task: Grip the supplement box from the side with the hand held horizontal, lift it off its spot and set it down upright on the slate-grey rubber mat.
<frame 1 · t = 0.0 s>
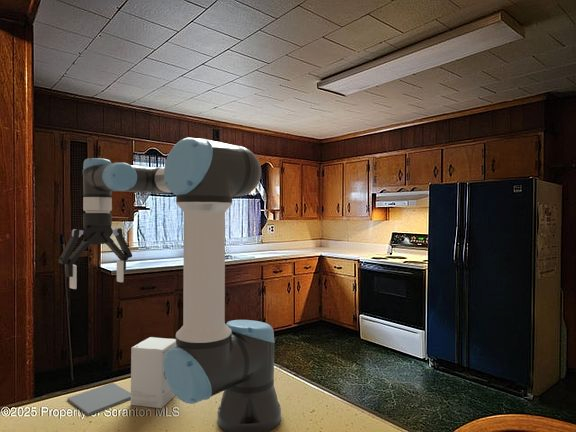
hand: (97, 285, 114), 28 cm above the table, tool pointing down, fingers open, 13 cm apart
supplement box: (155, 399, 103), on the table
mat: (101, 398, 103), on the table
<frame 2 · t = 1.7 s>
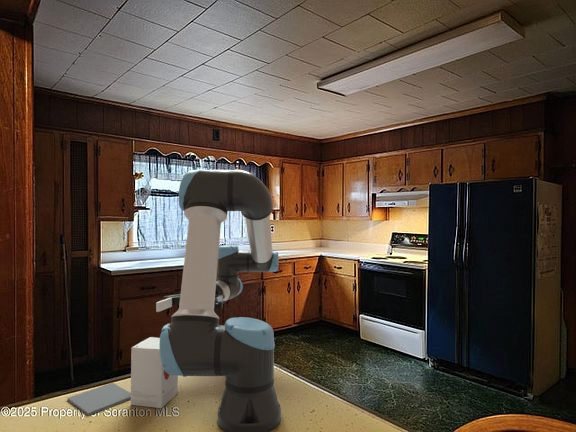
hand: (177, 309, 112), 22 cm above the table, tool horizontal, fingers open, 13 cm apart
nothing on the table moved.
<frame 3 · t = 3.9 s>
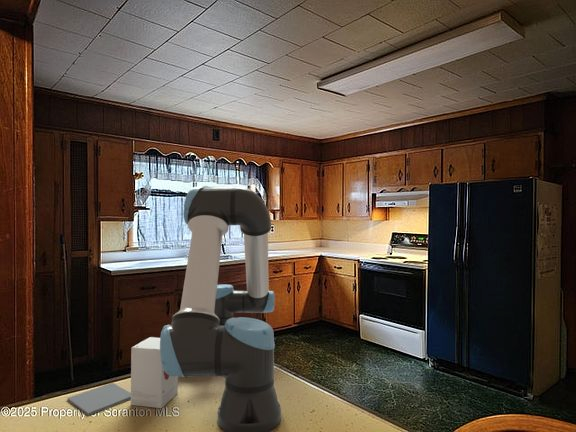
hand: (168, 361, 109), 8 cm above the table, tool horizontal, fingers open, 13 cm apart
nothing on the table moved.
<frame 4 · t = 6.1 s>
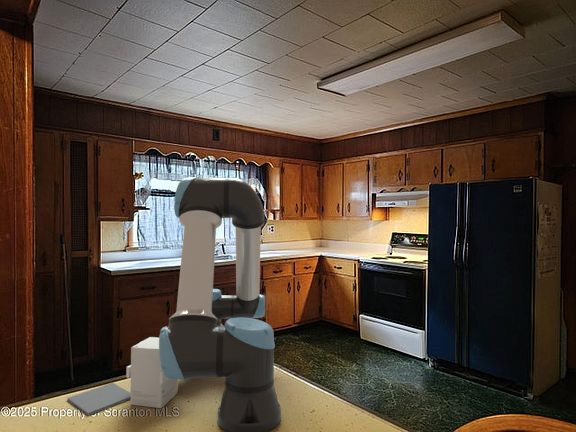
hand: (144, 375, 99), 8 cm above the table, tool horizontal, fingers closed on supplement box, 9 cm apart
supplement box: (155, 399, 103), on the table, touching gripper
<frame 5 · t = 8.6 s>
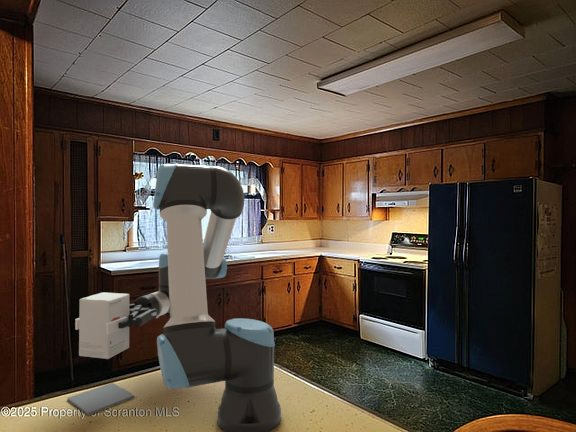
hand: (91, 326, 100), 20 cm above the table, tool horizontal, fingers closed on supplement box, 9 cm apart
supplement box: (105, 352, 104), point 12 cm above the table, touching gripper
when the fingers open (9 cm above the table, at t = 11.2 s): supplement box stays where it is, resting on mat.
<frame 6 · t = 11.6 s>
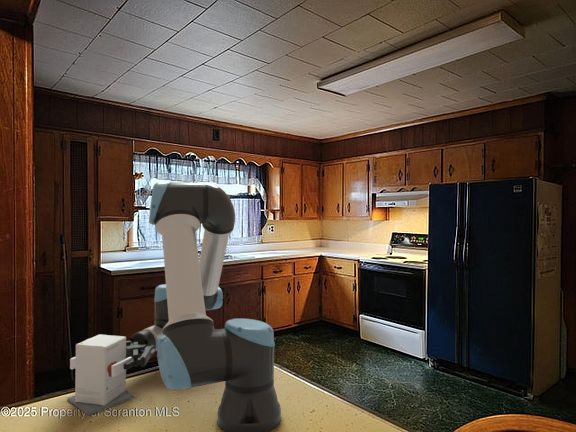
hand: (91, 367, 100), 10 cm above the table, tool horizontal, fingers open, 13 cm apart
supplement box: (101, 397, 103), resting on mat
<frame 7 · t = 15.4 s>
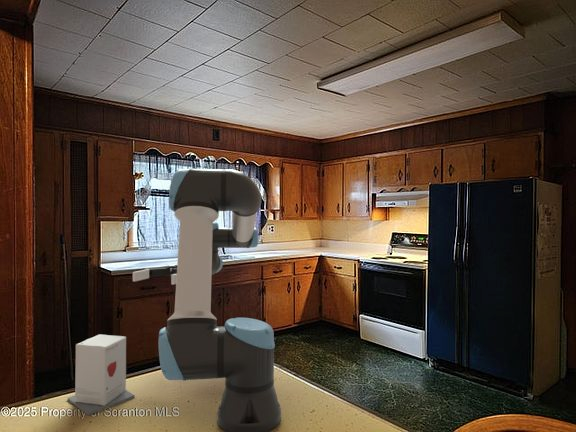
hand: (152, 278, 114), 30 cm above the table, tool horizontal, fingers open, 13 cm apart
nothing on the table moved.
at the end: supplement box inside the target area (0.1 cm from its centre), resting on mat; supplement box tilted 0°; the gripper is holding nothing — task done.
